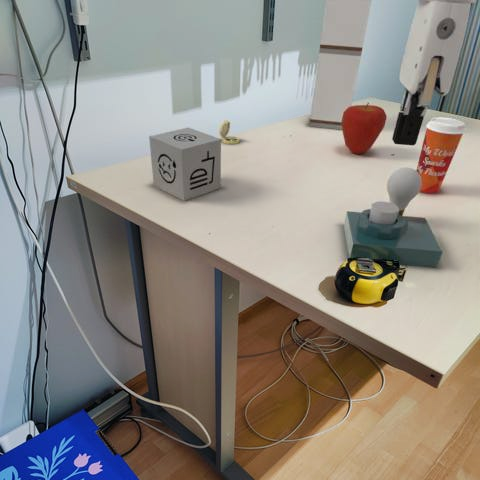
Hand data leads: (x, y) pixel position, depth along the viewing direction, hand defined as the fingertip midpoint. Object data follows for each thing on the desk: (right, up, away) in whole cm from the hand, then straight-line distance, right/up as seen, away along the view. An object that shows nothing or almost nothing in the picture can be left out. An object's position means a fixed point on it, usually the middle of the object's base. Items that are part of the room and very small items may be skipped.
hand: (403, 142), depth 63 cm
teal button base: (+1, -13, +11) cm, 17 cm away
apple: (+7, +18, +49) cm, 53 cm away
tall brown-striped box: (+4, +35, +70) cm, 78 cm away
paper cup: (+17, +3, +32) cm, 36 cm away
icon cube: (-35, +2, +27) cm, 45 cm away
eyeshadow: (-27, +22, +52) cm, 63 cm away
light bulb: (+5, -7, +19) cm, 21 cm away
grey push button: (0, -10, +8) cm, 13 cm away
